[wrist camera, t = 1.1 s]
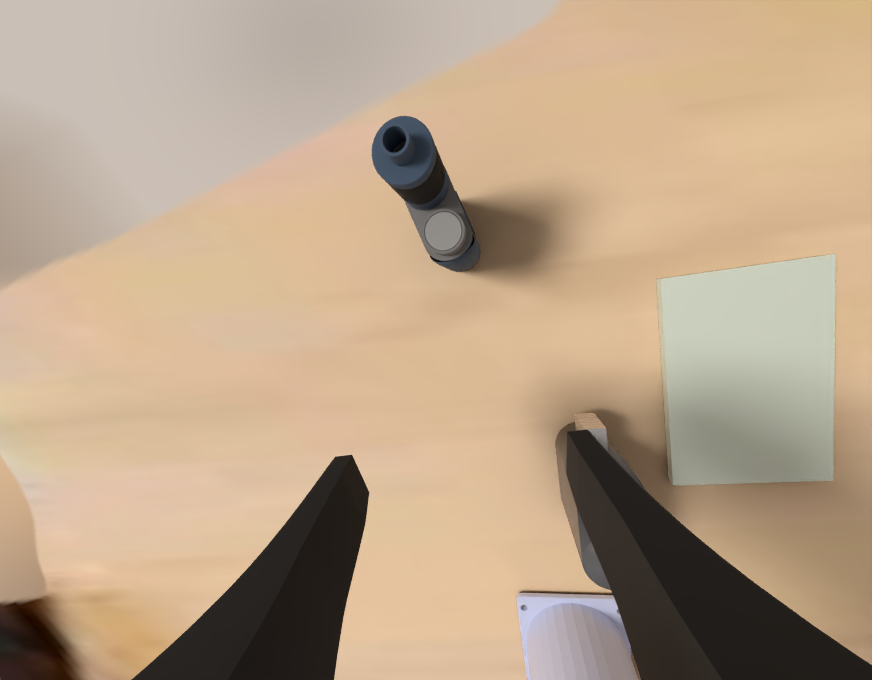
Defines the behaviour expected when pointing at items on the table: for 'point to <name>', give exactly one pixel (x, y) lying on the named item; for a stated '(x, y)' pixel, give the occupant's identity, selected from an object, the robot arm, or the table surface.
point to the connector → (578, 529)
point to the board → (749, 373)
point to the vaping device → (425, 191)
